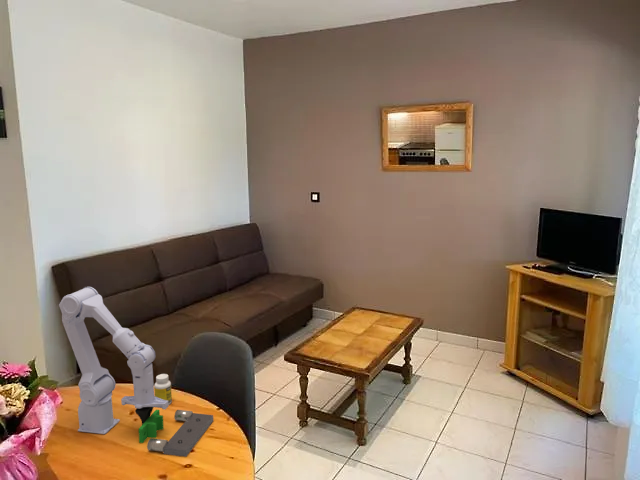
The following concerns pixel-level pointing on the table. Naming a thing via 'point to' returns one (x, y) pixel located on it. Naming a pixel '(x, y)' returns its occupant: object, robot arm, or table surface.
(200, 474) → the table surface
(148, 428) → the green notched block
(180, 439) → the fixed leaf
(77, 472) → the table surface
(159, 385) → the supplement bottle
